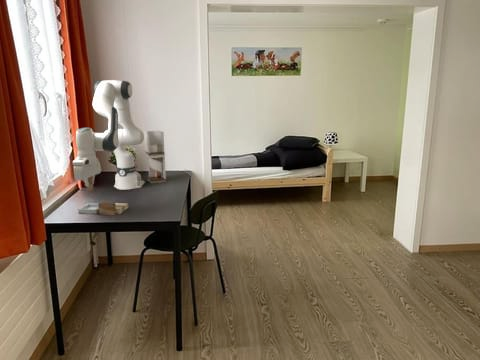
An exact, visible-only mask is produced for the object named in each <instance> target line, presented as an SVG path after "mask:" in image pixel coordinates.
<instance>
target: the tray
mask: <svg viewBox="0 0 480 360" xmlns="http://www.w3.org/2000/svg"><path fill="white" fill-rule="evenodd" d="M98 204H99V203H89V202H88V203H87V204H85V205H83V206H81V207H79V208H78V210H77V211H78V214H81V215H82V214H86V215H97V214H99V210H98V208H99V206H98Z"/></svg>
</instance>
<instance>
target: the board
mask: <svg viewBox="0 0 480 360" xmlns="http://www.w3.org/2000/svg"><path fill="white" fill-rule="evenodd" d="M115 203H116V214H115V215H118V214H119V215H120V214H122V213H123V212H125V211H126V210H127V209H129V203H126V202H125V203H122V202H115ZM98 210H99V208H98Z"/></svg>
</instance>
